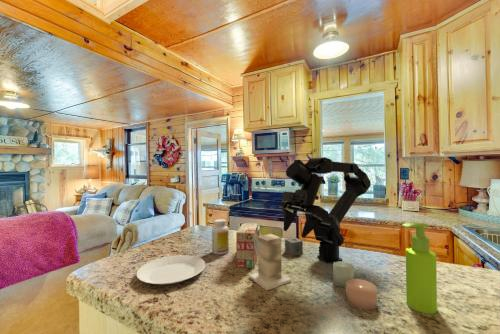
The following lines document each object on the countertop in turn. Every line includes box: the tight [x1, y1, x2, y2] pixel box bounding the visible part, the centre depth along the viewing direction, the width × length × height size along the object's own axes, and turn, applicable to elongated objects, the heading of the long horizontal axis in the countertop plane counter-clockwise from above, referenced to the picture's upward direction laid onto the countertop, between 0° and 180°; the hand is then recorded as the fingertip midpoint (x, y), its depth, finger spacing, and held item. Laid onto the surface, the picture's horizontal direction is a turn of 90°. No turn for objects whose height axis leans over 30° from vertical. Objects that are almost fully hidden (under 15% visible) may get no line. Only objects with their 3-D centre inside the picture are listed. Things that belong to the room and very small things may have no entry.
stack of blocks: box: [235, 222, 262, 269], centre depth 88 cm, size 21×6×12 cm, turn 172°
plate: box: [136, 254, 206, 286], centre depth 74 cm, size 21×21×2 cm
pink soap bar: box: [345, 278, 378, 311], centre depth 57 cm, size 7×7×4 cm
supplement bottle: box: [211, 218, 230, 256], centre depth 92 cm, size 7×7×13 cm
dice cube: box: [284, 237, 304, 257], centre depth 91 cm, size 5×5×5 cm
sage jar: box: [332, 261, 355, 288], centre depth 67 cm, size 6×6×5 cm
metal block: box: [257, 233, 282, 282], centre depth 69 cm, size 5×5×12 cm
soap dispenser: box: [401, 221, 438, 315], centre depth 55 cm, size 6×7×20 cm
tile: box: [248, 271, 292, 291], centre depth 69 cm, size 9×9×1 cm
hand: (293, 233), depth 75 cm, fingers open, 9 cm apart
